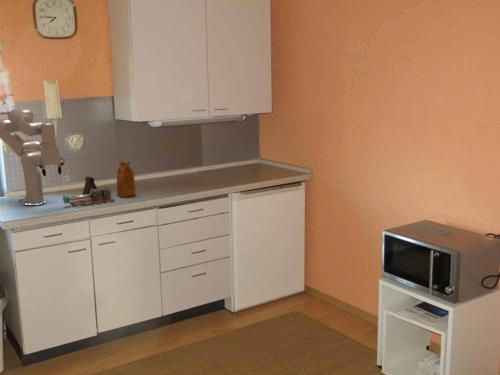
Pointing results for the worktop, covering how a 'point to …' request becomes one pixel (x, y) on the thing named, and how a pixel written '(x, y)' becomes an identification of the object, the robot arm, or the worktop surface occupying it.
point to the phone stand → (89, 185)
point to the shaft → (77, 197)
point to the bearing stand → (95, 198)
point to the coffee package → (125, 180)
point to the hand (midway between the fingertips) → (52, 174)
